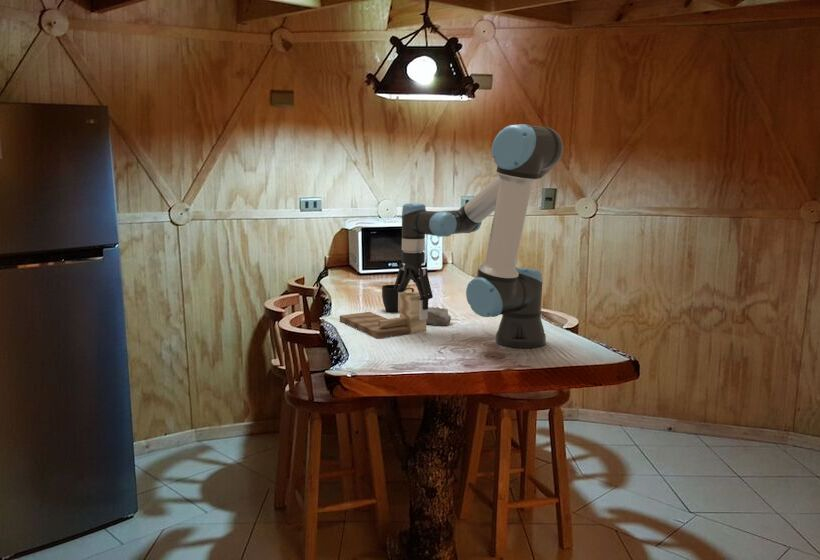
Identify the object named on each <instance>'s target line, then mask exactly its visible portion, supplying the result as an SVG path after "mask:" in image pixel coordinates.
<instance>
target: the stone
mask: <svg viewBox="0 0 820 560" xmlns="http://www.w3.org/2000/svg"><path fill="white" fill-rule="evenodd" d="M451 320H452V316H451V315H450V314H449V311H448V309H447V308H444V307H442V308H440V307H439V306H437V307H435V306H432V307H430V306H428V319H426V325H430V326H431V325H432V326H449V324H451Z"/></svg>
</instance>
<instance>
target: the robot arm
mask: <svg viewBox="0 0 820 560" xmlns="http://www.w3.org/2000/svg"><path fill="white" fill-rule="evenodd" d="M563 152H564V143H563V139H562V137H561V135H560V134H559V133H558V132H557V131H556V130H555V129H552V128H551V127H548V126H538V125H531V124H530V125H528V124H521V123H519V124H510V125H507V126H505V127H503V129H501V130H500V131H499V132H498V133H497V135H496V136H495V138H494V139H493V142H492V147H491V155H492V158H493V159H494V160H493V161H494V163H495V164H496V165H497V166H496V167H497V168H496V172H495V173H496V174H497V177H495V178H494V179H493V180H492V181H491V182H490V183H488V184H487V185H486V186H485V187H484V188H483V189H482V190H480V191H479V192H478V193H477V194H476V195H475V196H473V197H472V198H471V199H470V200H469V201H468V202H466V203H465V204H464V205H463V206H462V207H460V208H459V209H457V210H455V209H454V210H440V211H439V210H438V211H436V210H434V211H433V210H427V209H426V205H425V204H424V203H418V202H417V203H415V202H414V203H410V202H409V203H405V204H403V205H402V209H401V250H402V252H401V263H399V265H398V272H397V276H396V279H395V283H394V285H395V286H394V288H395V289H397V292H398V311H400V294H402V293H407V292H406V291H407V290H406V288H408V287H407V286H408V285H409V283H410V282H411V281H412V282H413V283H415V287H416V289H417V291H418V292H417V293H419V294H420V297H421V298H420V308H419V319H420V320H423V319H428V307H429V300H430V299H433V298H434V296H433V292H432V288H431V284H430V281H429V280H430V279H429V275H428V274H429V272H428V270H429V269H428V268H425V267H424V268H423V267H422V265H423V264H424V263H425V259H426V257H425V256H426V252H425V250H426V248H425V247H426V245H425V244H426V243H425V242H426V241H425V238H426V235H429V236H436V237H438V238H441V237H451V236H452V235H457V234H458V235H459V234H471V233H473V232H477V231H478V230H479V229H480V227H481V225H482V222H483V221H484V220H486V218H487V217H489V216H490V215H492V214H493V218H492V224H491V229H490V234H489V240H488V244H487V245H488V246H487V251H486V255H485V261H484V262H483V263H481V264H479V266H478V268H477V269H478V270H477V275H476V277H474V278H472V280H471V281H469V282H468V284H467V286H466V288H465V289H466V291H465V294H466V295H465V296H466V301H467V303H468V304H469V306H470V309H471V310H472V311H473V312H474V313H475V314H476V315H477V316H479V317H483V318H491V317H493V318H496V317H499V316H500V315H502V316H501V319H500V323H499V326H498V330H497V331H496V333H495V342H496V343H497V344H499V345H502V346H506V347H509V348H518V349H531V348H532V349H534V348H540V347H543V346H545V345H546V343H547V342H546V341H547V340H546V339H547V337H546V333H545V329H544V325H543V322H542V296H543V295H542V292H543V284H544V283H543V282H544V281H543V273H542V272H541V270H538V269H534V268H528V267H527V268H526V267H520V266H519V267H518V266H517V267H516V264H517V259H518V255H519V254H518V253H519V248H520V244H521V239H522V235H523V231H524V230H523V229H524V225H525V219H526V215H527V209H528V205H529V200H530V195H531V190H532V186H533V184H535V183H536V182H537V181H539V180H540V179H542V178H543V177H544V176H545V175H547V174H549V172H551V170H553V169H554V168H555V167H557V165H558V164H559V162H560V161H561V159H562V156H563ZM403 291H404V292H403Z"/></svg>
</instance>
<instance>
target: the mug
mask: <svg viewBox="0 0 820 560" xmlns="http://www.w3.org/2000/svg"><path fill="white" fill-rule="evenodd" d="M394 286H395V284H385V285H382V287H381V297H382V303H383V305H384V310H385V312H387V313H391V314H392V313H393V314H394V313H395V312H396V313H400V311H398V292H397V289H395V288H394ZM407 290H411V292H415V289H414V288H413V287H406V291H407ZM403 292H405V291H403Z"/></svg>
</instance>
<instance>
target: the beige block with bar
mask: <svg viewBox="0 0 820 560" xmlns="http://www.w3.org/2000/svg"><path fill="white" fill-rule="evenodd" d="M420 298H421V297H420V294H419V292H416V291H414V292H412V291H411V292H406V293H402V294H400V312H399V317H393V318H387V319H385V320H378V326H379V327H381V328H382V327H383V328H385V327H390V326H397V325H404V326H407V327H409V328H410V334H417V333H423V332H427V324H426V319H423V320H420V319H419V308H420ZM416 332H417V333H416Z"/></svg>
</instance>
